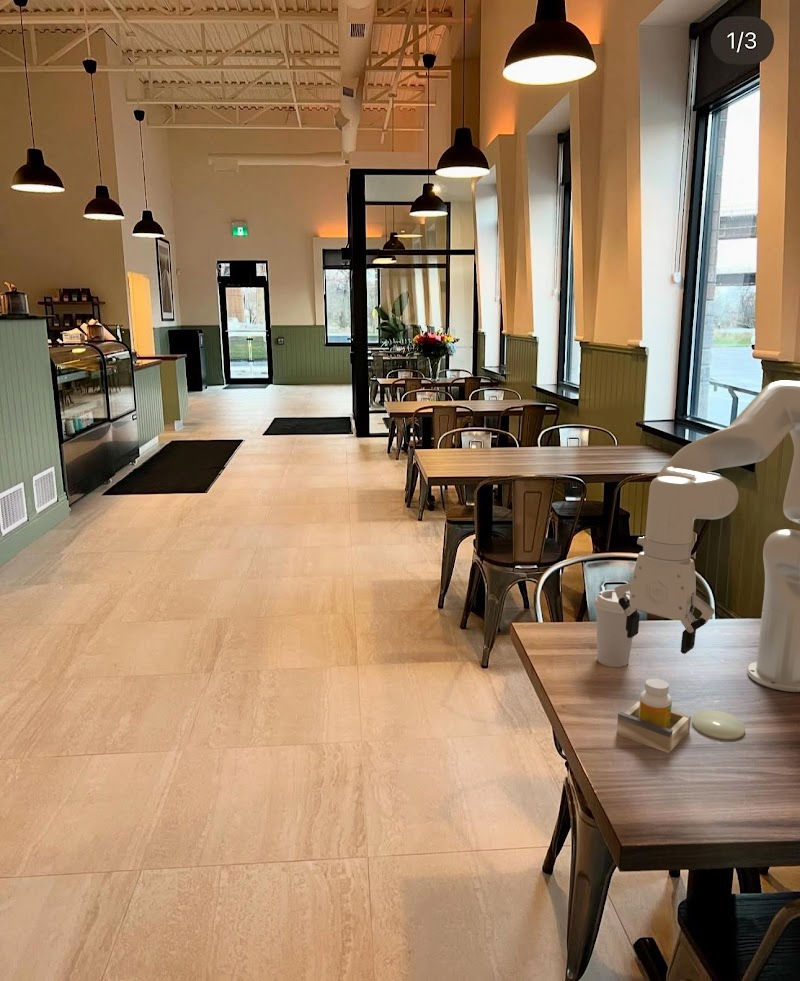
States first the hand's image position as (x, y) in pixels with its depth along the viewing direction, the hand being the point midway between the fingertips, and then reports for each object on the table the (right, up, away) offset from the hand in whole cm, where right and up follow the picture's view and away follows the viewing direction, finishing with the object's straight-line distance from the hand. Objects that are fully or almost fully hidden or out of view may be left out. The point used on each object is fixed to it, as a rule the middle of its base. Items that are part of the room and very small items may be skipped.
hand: (658, 643), depth 134 cm
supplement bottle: (0, -17, +4) cm, 18 cm away
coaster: (+13, -16, +6) cm, 22 cm away
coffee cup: (+1, -11, +33) cm, 35 cm away
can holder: (0, -17, +4) cm, 17 cm away
